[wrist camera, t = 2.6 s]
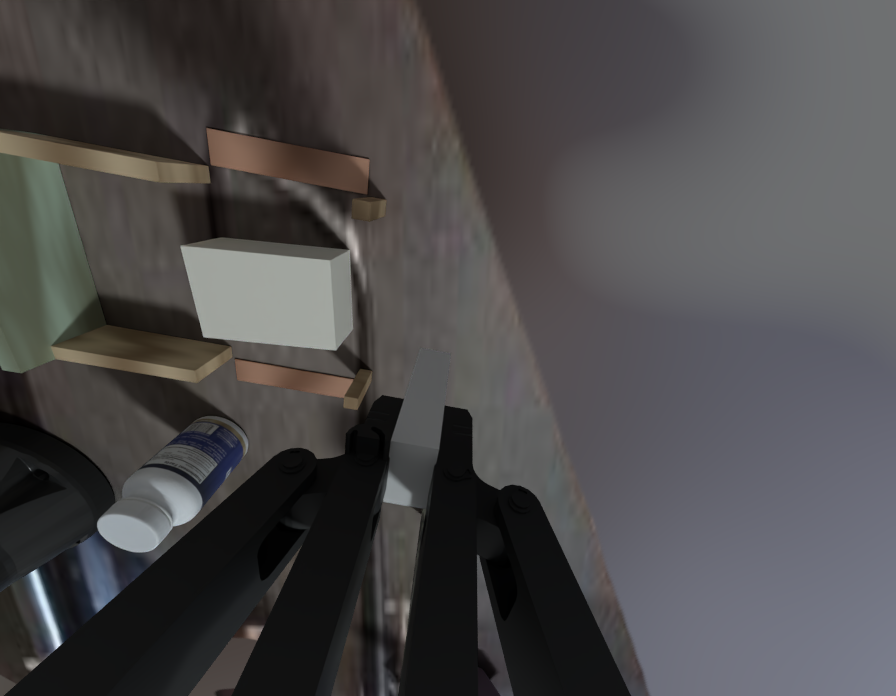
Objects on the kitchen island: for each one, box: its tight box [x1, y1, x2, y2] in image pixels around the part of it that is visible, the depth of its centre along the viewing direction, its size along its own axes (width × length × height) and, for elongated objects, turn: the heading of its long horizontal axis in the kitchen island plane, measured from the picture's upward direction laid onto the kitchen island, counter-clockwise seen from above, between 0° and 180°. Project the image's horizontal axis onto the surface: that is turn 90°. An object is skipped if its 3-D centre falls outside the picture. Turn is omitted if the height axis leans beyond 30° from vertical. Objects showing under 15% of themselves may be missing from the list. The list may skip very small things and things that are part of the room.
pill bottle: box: [97, 416, 248, 552], centre depth 27 cm, size 5×5×10 cm
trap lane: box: [0, 128, 386, 410], centre depth 22 cm, size 23×18×6 cm
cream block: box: [180, 237, 353, 350], centre depth 23 cm, size 9×6×4 cm, turn 85°
